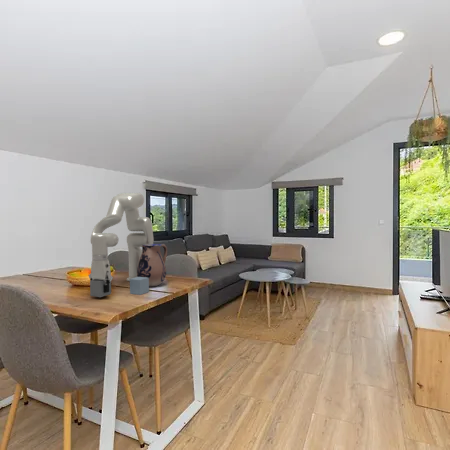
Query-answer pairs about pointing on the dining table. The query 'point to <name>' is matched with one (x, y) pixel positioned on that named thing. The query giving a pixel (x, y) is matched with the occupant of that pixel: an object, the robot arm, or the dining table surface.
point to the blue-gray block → (139, 285)
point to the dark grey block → (98, 288)
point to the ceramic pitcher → (152, 264)
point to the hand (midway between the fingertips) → (100, 291)
